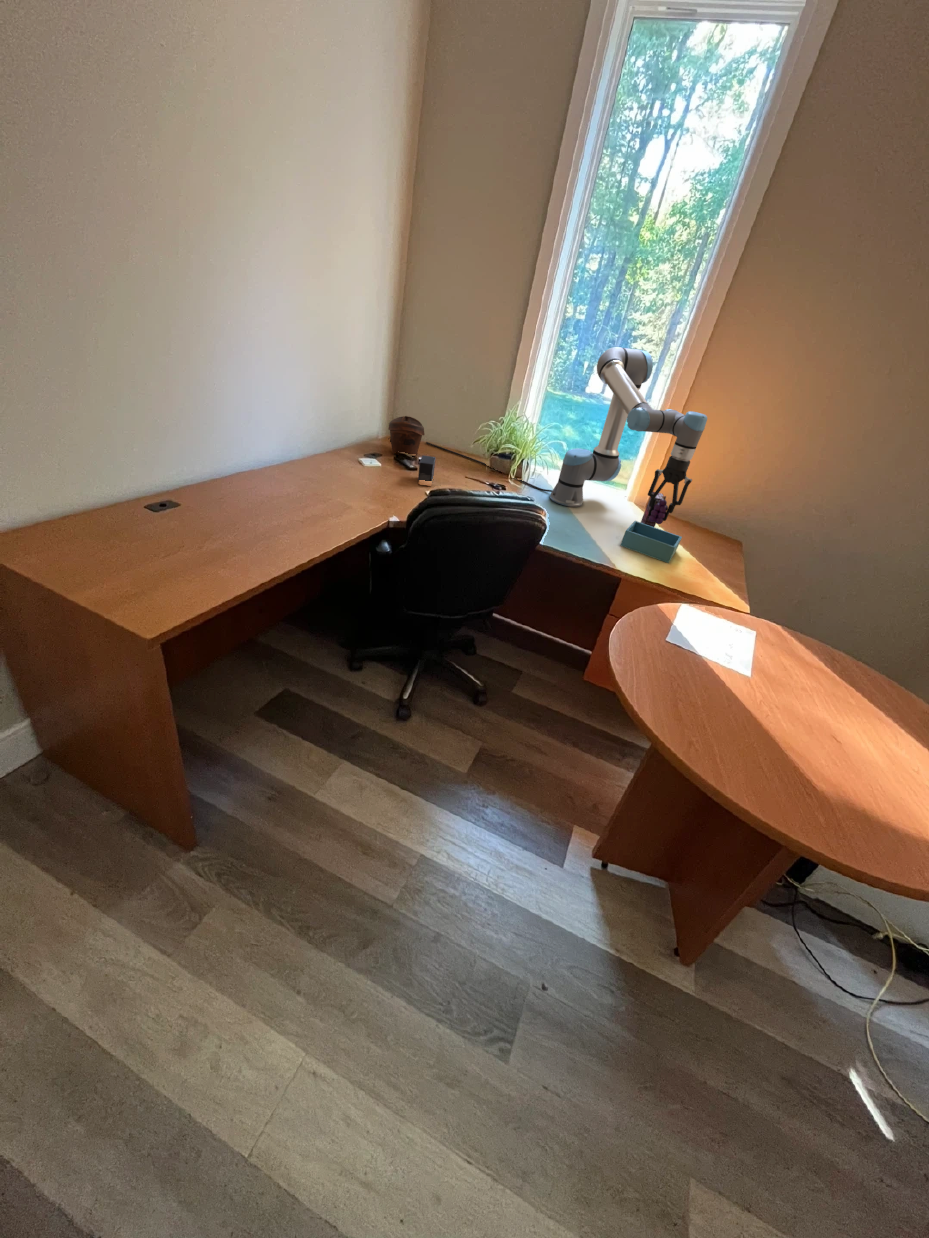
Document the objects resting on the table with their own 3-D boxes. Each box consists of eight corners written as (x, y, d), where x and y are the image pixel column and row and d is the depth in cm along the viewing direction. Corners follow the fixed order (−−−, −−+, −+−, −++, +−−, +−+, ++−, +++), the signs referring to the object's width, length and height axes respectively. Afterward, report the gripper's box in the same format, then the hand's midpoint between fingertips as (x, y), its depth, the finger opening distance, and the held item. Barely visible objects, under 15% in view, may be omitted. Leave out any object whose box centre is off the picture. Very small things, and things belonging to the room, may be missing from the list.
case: (407, 446, 263) (410, 411, 253) (429, 458, 251) (433, 422, 241) (379, 449, 253) (380, 412, 242) (400, 461, 241) (403, 424, 231)
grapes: (647, 521, 191) (656, 495, 185) (650, 517, 195) (660, 492, 189) (660, 525, 189) (671, 500, 183) (663, 522, 193) (674, 496, 187)
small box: (419, 477, 227) (421, 454, 221) (433, 479, 228) (436, 456, 222) (416, 484, 219) (419, 461, 213) (431, 487, 219) (433, 464, 213)
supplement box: (651, 535, 211) (665, 500, 202) (640, 532, 211) (654, 497, 202) (649, 527, 218) (663, 493, 209) (639, 525, 218) (651, 491, 209)
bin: (620, 545, 197) (625, 530, 193) (629, 535, 207) (634, 520, 203) (668, 563, 190) (675, 547, 186) (675, 551, 200) (682, 536, 196)
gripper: (653, 452, 178) (631, 512, 191) (704, 467, 172) (678, 528, 185) (658, 449, 184) (636, 507, 197) (707, 463, 177) (682, 522, 190)
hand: (657, 517), depth 191 cm, fingers closed on grapes, 5 cm apart
